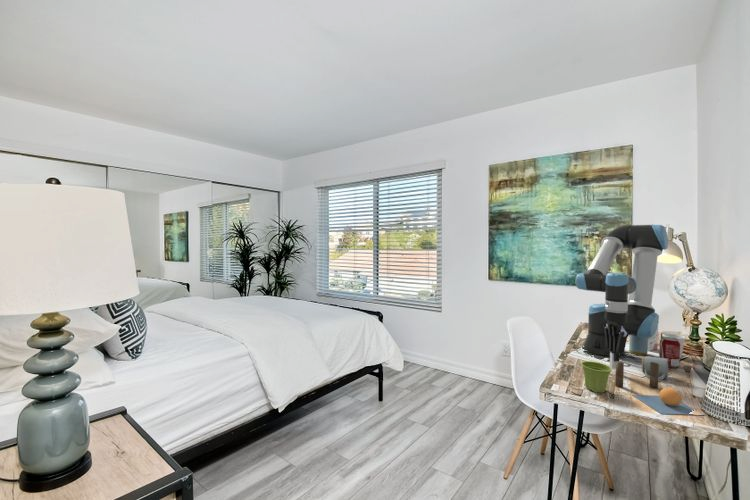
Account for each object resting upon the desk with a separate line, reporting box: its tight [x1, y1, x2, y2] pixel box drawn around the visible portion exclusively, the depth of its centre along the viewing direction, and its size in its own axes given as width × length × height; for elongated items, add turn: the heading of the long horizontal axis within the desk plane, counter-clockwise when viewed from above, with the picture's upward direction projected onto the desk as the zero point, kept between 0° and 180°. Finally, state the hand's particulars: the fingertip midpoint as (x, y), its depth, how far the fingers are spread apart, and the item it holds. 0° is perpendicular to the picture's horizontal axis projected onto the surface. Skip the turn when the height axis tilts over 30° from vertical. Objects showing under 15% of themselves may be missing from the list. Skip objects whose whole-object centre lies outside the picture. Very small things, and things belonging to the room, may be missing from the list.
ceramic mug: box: [641, 355, 669, 382], centre depth 137 cm, size 11×8×8 cm
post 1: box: [614, 360, 625, 388], centre depth 128 cm, size 2×2×9 cm
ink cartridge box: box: [648, 326, 659, 352], centre depth 173 cm, size 9×5×15 cm, turn 115°
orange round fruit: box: [658, 387, 682, 406], centre depth 113 cm, size 6×6×6 cm
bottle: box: [628, 335, 649, 356], centre depth 166 cm, size 7×7×15 cm
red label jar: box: [661, 333, 687, 359], centre depth 161 cm, size 8×8×10 cm
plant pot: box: [580, 360, 613, 393], centre depth 125 cm, size 9×9×9 cm
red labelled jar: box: [658, 336, 681, 368], centre depth 150 cm, size 7×7×12 cm
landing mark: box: [632, 394, 695, 416], centre depth 114 cm, size 13×13×1 cm
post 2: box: [649, 362, 659, 390], centre depth 127 cm, size 2×2×9 cm
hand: (614, 368), depth 141 cm, fingers closed
